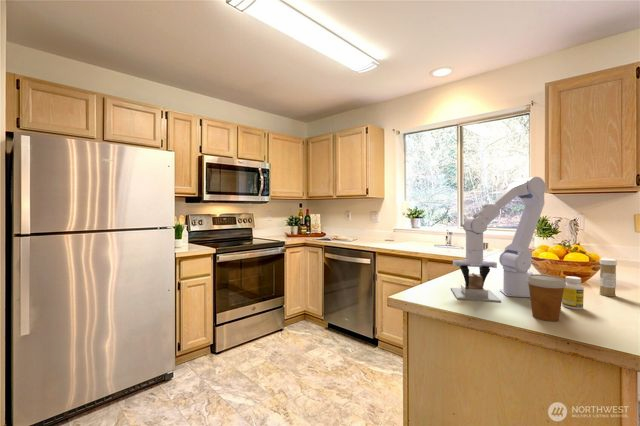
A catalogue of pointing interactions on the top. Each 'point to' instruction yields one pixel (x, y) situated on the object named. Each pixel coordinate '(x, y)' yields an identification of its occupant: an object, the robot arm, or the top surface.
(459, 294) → the socket plate
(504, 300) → the top surface
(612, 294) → the sprinkles bottle
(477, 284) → the keyed block
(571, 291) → the supplement bottle
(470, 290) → the collar
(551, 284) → the disposable coffee cup
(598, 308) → the top surface
